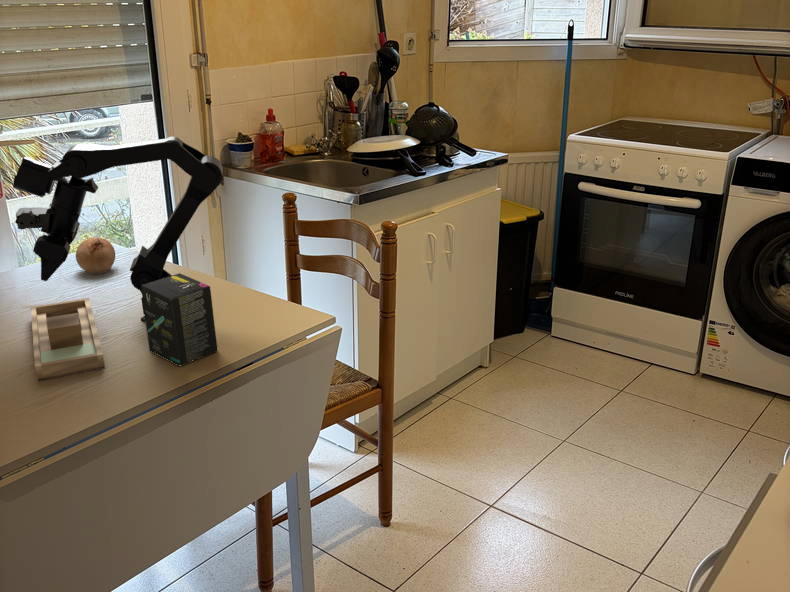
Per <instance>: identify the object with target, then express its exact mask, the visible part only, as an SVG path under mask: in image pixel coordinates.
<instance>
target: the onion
mask: <svg viewBox="0 0 790 592" xmlns="http://www.w3.org/2000/svg"><path fill="white" fill-rule="evenodd" d="M75 260H76V263H77V266H79V267H80V269H81V270H83V271H84V272H85V273H86V274H102V273H103V274H104V273H106V272H108V271H109V270H110V269H111V268H112V266H113V265H114V263H115V261H116V250H115V248H114V246H113V244H112V243H111V242H110V241H109V240H107V239H105V238H102V237H98V236H97V237H94V236H93V237H89V238H87V239H85V240H83V241H81V243H80V244H79V245H78V247H77V249H76V251H75Z"/></svg>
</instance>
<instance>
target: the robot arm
mask: <svg viewBox="0 0 790 592" xmlns="http://www.w3.org/2000/svg"><path fill="white" fill-rule="evenodd" d="M164 160H165V161H166V160H170V161H172V162H173V163H174V164H176V165H177V167H179V168H180V169H181V170H183V171H184V173H186V174H187V175H188V176H190V179H189V181H188V183H187V186H186V189H185V191H184V193H183V195H182V197H181V198H180V200H179V202H178V203H177V205H176V206H175V208H174V210H173V212H172V214H171V215H170V216H169V219H167V220H166V221H167V222H166V223H165V225H164V226H163V228H162V229H161V231H160V233H159V235H158V236H157V238H156V239H155V241H154V242H153V244H151V246H149V247H148V248H147V247H145V246H144V245H141V248H140V250H139V253H138V255H137V256H136V257H134V258H133V259H132V263H131V265H130V269H129V271H130V272H131V274H130V282H131V285H132V286H133V288H135V289H137V290H138V291H139V292H140V293H141V294H142V291H141V285H143V284H147V283H150V282H154V281H157V280H159V279H163V278H166V277H170V276H173V274H171V273H170V272H168V271H167V270H165V265H166V263H167V260H168V257H169V256H170V254H171V252H172V250H173V249H174V247H175V246H176V244H177V242H178V241H179V239H180V237H181V236H182V234H183V233H184V230H186V228H187V226H188V225H189V223H190V221H191V219H192V218H193V216H194V215H195V213H196V211H197V210H198V208H199V206H200V205H201V204H202V203H203V202H205V200H206V199H207V198H209V197H210V196H211V195H212V194H213V192H215V190H217V188H218V187H219V186H220V185H221V183H222V180H223V170H224V169H223V165H222V163H221V161H220V160H219V159H218V158H217V157H214V156H212V155H206V154H204V153H203V152H201V151H200V150H199V149H197V148H195V147H193V146H191V145H189V144H187V143H185V142H184V141H182V140H181V139H180V137H178V136H177V137H176V136H168V137H166V138H162V139H161V138H160V139H154V140H153V139H151V140H147V141H146V140H145V141H138V142H133V143H132V142H131V143H124V144H116V145H102V144H95V143H78V144H74V145H72V146H70V148H69V149H68V150H67V151H66V152H65V153H64V154H63V156H62V158H61V159H60V160H56V162H55V163H54V164H53V165H51V164H48V163H44V162H41V161H38V160H36V159H34V158H32V157H30V156H24V157H22V159H21V164H19V167H18V169H17V172H16V173H15V175H14V177H13V183H12V188H13V189H15V190H17V191H18V190H19V191H21V192H24V193H27V194H31V195H34V196H37V197H40V198H44V197H45V196H46V194H47V195H51V193H52V191H53V189H54V187H55V190H54V191H53V192H54V193H53V195H52V199H51V202H50V204H49V206H48V207H39V206H38V207H35V206H34V207H33V206H32V207H20V208H18V210H17V211H16V213H15V218H16V219H15V223H14V224H16V226H17V229H18V230H26V229H40V232H41V233H46V234H42V235H40V236H38V237H37V239H36V240H35V243H34V247H33V250H32V252H33V253H34V254H35V255H36V256H38V257H39V259H40V280H41V281H43V282H47V281H49V279H50V278H51V277H52V276H53V274H54V273H55V272H56V271H57V270H58V269H59V268H60V267H61V266H62V265H63V264H64V263H65V262H66V261H67V258H68V255H69V253H70V251H71V250H70V249H71V244H72V243H73V242H74V240H75V238H76V236H77V234H78V231H79V228H80V225H81V223H80V221H79V218H80V216H81V213H82V208H83V204H84V201H85V198H86V195H87V192H89V193H92V194H96V192H97V191H98V189H99V186H98V185H97V184H96V182H95V181H94V178H93V177H89V176H94V175H96V174H98V173H101V172H103V171H106V170H107V169H112V168H115V167H123V166H129V165H136V164H143V163H151V162H158V161H164ZM87 177H89V178H87ZM85 178H87V179H85ZM55 182H56V183H55ZM55 184H56V186H54V185H55ZM140 299H141V306H142V314H143V316H141V317H140V322H141V321H142V322H146V320H145V313H144V306H143V298H142V297H141V298H140Z"/></svg>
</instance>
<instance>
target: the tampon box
mask: <svg viewBox="0 0 790 592" xmlns="http://www.w3.org/2000/svg"><path fill="white" fill-rule="evenodd" d="M141 291H142V293H141V296H142V297H141V298H143V306H144V313H145V315H144V316H145V320H146V321H145V325H146V326H145V327H146V333H147V335H146V336H147V342H148V351H149V352H151V351H152V352H151V353H153V352H154V353H153V354H155V353H156V354H158V355H160V356H162V357H164V358H166V359H168V360H170V361H172V362H173V363H175V364H177V365H182V366H184V365H183V364H185V363H187V364H189V363H191V362H190V361H192V360H194V361H196V359H197V360H199V359H202V358H204V357H207V356H209V355H211V354H210V353H212V354H214V353H216V352H215V351H217V352H218V351H219V350H218V343H217V337H216V336H217V333H216V326H215V318H214V317H215V316H214V307H213V300H212V299H213V298H212V292H211V285H208V284H206V283H203V282H202V281H199V280H196V279H194V278H192V277H189V276H187V275H185V274H183V273H175V274H172V276H170V277H166V278H163V279H159V280H157V281H154V282H150V283H147V284H143V285H141ZM213 352H214V353H213ZM156 354H155V355H156ZM208 354H209V355H208ZM158 355H157V356H158ZM206 355H207V356H206ZM160 356H159V357H160ZM203 356H204V357H203ZM162 357H161V358H162ZM201 357H202V358H201ZM164 358H163V359H164ZM198 358H199V359H198ZM166 359H165V360H166ZM168 360H167V361H168ZM170 361H169V362H170ZM172 362H171V363H172ZM188 362H189V363H188ZM192 362H193V361H192ZM173 363H172V364H173ZM175 364H174V365H175ZM177 365H176V366H177ZM185 365H186V364H185Z"/></svg>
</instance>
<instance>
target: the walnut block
mask: <svg viewBox="0 0 790 592" xmlns="http://www.w3.org/2000/svg"><path fill="white" fill-rule="evenodd" d="M46 322H47V330H48V335H49V341H50V346H51V350H55V349H60V348H66V347H72V346H77V345H83V339H82V333H81V327H80V322H79V317H78V313H73V314H67V315H61V316H55V317H49V318H46Z"/></svg>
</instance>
